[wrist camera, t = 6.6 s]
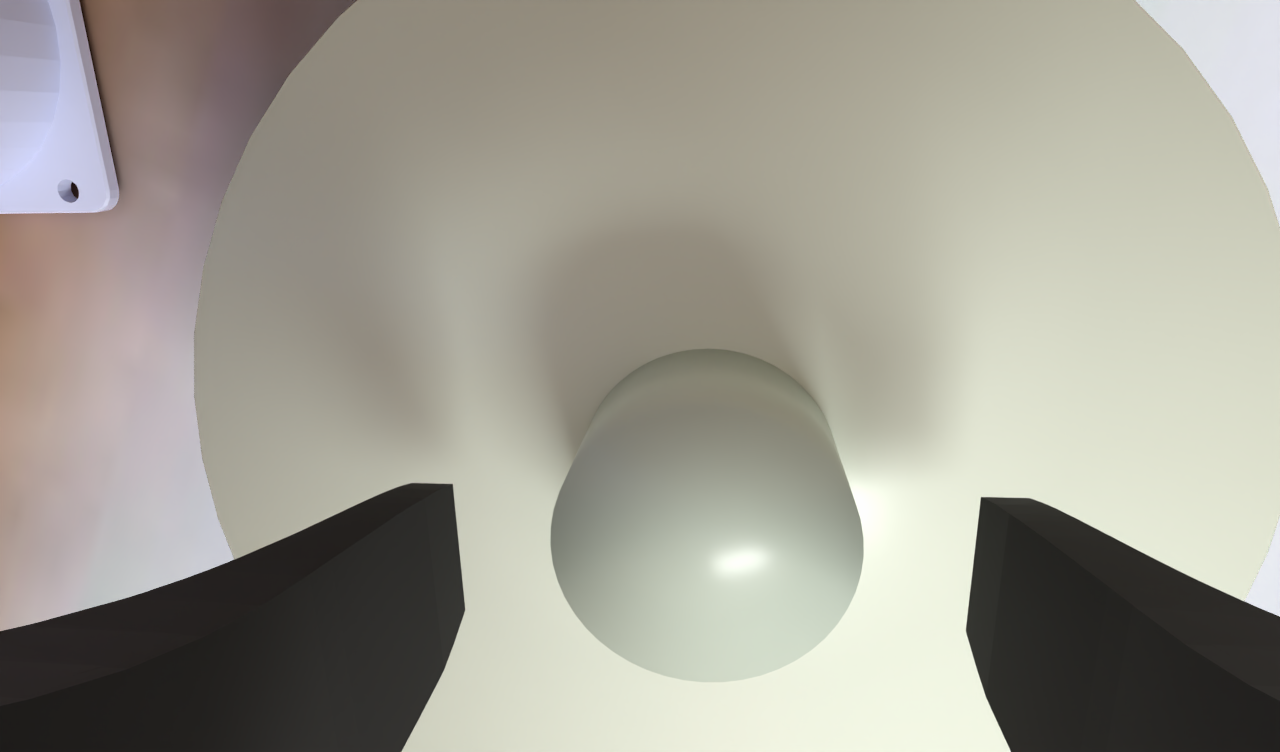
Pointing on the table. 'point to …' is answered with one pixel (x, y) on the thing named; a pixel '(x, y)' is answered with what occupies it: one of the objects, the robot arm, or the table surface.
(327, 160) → the lid
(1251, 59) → the table surface
